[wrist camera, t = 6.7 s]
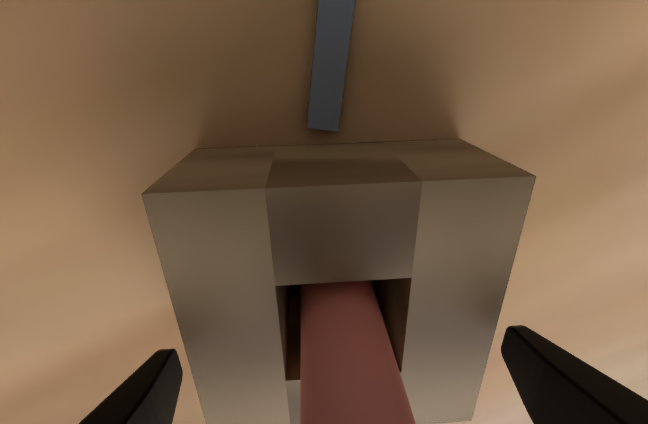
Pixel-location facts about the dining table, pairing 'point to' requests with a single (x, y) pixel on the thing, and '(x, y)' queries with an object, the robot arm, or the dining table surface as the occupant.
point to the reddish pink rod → (348, 358)
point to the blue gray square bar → (329, 63)
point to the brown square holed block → (337, 263)
